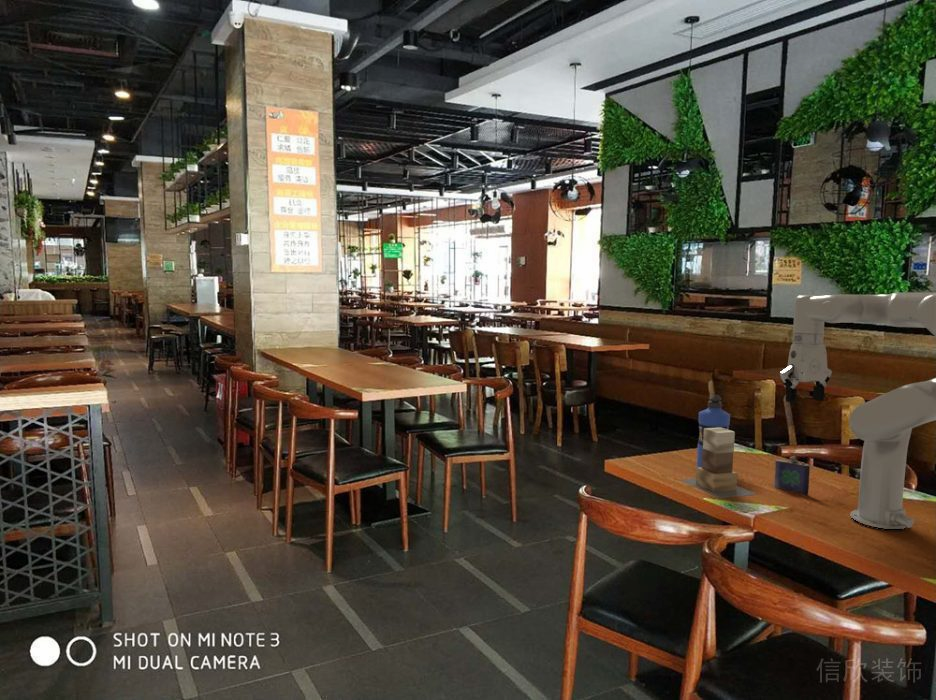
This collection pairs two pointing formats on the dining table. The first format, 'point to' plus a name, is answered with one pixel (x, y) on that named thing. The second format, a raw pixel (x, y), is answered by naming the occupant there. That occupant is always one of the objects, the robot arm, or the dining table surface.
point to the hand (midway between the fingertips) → (804, 401)
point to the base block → (716, 480)
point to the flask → (792, 475)
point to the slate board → (721, 494)
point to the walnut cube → (717, 462)
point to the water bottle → (711, 422)
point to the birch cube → (718, 440)
